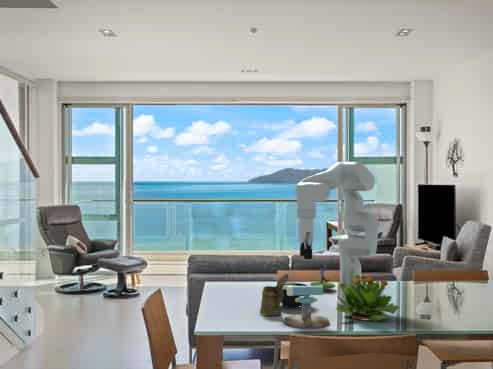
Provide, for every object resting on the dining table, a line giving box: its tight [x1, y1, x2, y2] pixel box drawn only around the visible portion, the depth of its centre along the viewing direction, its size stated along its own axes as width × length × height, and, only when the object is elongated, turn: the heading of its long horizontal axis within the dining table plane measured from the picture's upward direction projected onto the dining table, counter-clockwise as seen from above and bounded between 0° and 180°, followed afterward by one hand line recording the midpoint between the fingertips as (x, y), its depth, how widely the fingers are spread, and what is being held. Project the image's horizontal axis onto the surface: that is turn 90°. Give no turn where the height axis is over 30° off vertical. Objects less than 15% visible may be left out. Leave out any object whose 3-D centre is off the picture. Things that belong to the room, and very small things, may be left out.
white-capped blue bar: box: [287, 285, 324, 304], centre depth 239 cm, size 14×6×6 cm, turn 94°
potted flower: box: [335, 273, 400, 322], centre depth 248 cm, size 25×24×18 cm
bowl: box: [274, 282, 311, 308], centre depth 270 cm, size 17×17×10 cm
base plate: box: [283, 303, 330, 329], centre depth 239 cm, size 18×18×8 cm
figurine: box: [309, 259, 336, 291], centre depth 308 cm, size 14×13×15 cm
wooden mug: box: [259, 273, 289, 316], centre depth 253 cm, size 9×14×18 cm, turn 49°
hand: (306, 257), depth 239 cm, fingers open, 9 cm apart
